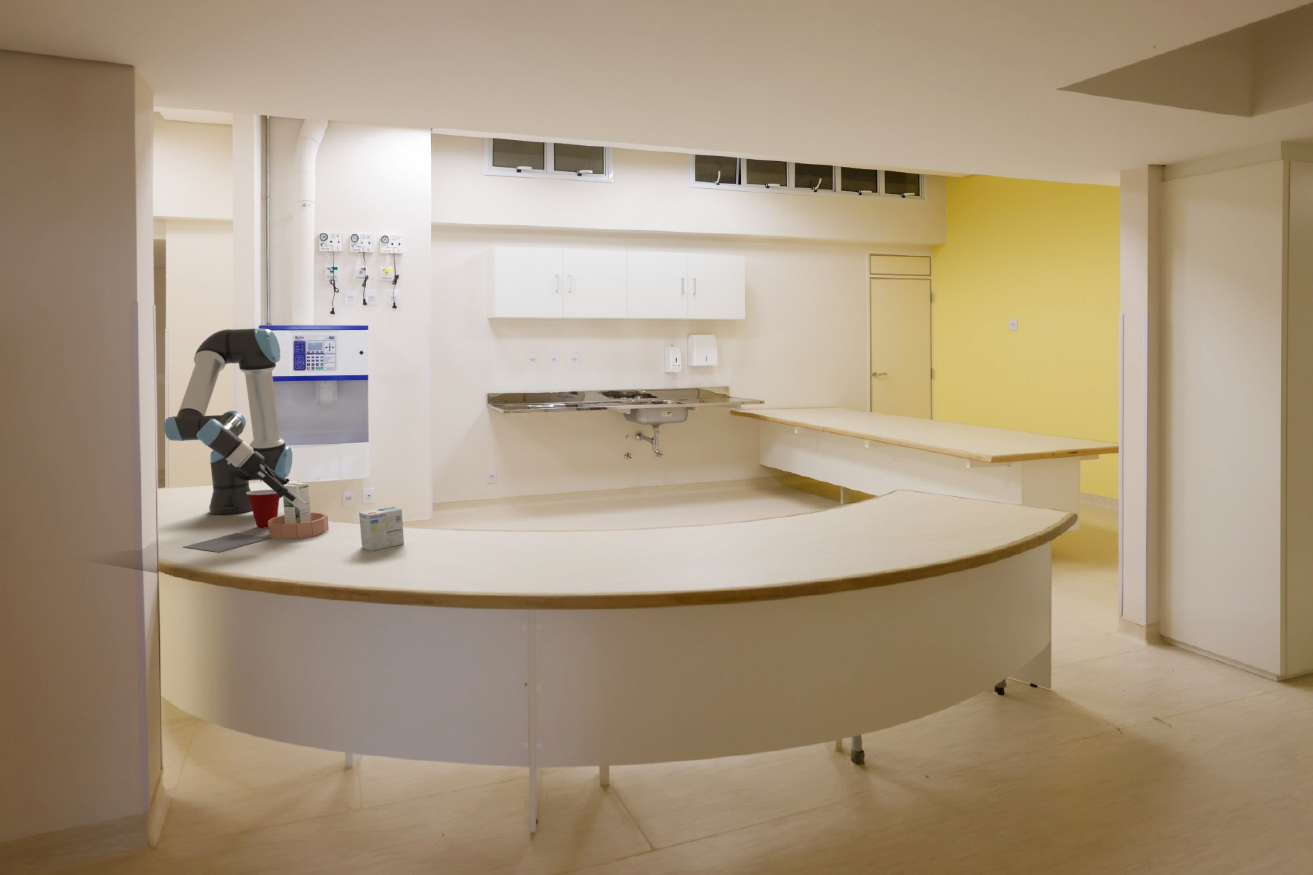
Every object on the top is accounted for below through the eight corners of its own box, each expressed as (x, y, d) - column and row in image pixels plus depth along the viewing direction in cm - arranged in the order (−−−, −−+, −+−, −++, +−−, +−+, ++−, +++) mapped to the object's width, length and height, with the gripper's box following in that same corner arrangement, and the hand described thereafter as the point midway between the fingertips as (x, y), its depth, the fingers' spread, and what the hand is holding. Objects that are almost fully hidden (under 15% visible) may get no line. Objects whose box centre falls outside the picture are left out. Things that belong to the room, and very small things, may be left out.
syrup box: (284, 530, 272) (280, 485, 270) (298, 526, 278) (294, 481, 276) (298, 531, 270) (295, 486, 268) (312, 527, 276) (309, 482, 274)
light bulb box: (394, 540, 260) (391, 505, 259) (405, 544, 256) (402, 508, 254) (360, 547, 253) (358, 511, 252) (371, 551, 248) (368, 514, 247)
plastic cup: (291, 522, 288) (288, 487, 286) (274, 530, 277) (270, 493, 276) (260, 522, 289) (257, 487, 287) (242, 530, 278) (238, 493, 277)
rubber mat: (235, 533, 274) (235, 532, 274) (271, 538, 267) (271, 537, 267) (183, 547, 258) (183, 546, 258) (219, 552, 251) (219, 551, 251)
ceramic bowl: (301, 523, 285) (300, 510, 284) (339, 528, 278) (338, 514, 277) (257, 535, 270) (256, 521, 269) (296, 540, 262) (295, 526, 262)
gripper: (239, 462, 276) (293, 503, 284) (235, 474, 253) (294, 519, 261) (256, 444, 277) (309, 486, 285) (253, 455, 254) (311, 500, 262)
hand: (302, 502), depth 273 cm, fingers open, 13 cm apart
